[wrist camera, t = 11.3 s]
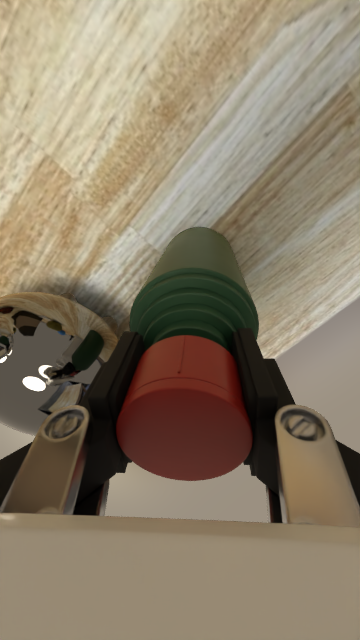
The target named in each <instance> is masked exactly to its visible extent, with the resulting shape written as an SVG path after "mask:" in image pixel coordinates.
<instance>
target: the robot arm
mask: <svg viewBox="0 0 360 640" xmlns="http://www.w3.org/2000/svg"><path fill="white" fill-rule="evenodd" d="M144 352H145V347H144V341H143V336H142V335H139V334H138V332H137V331H136V332H124V333H123V334H122V336H121V338H120V340H119V341H118V343H117V345H116V347H115V349H114V350H113V352H112V354H111V356H110V358H109V359H108V361H107V362H104V363H103V364H102V365H101V367H100V369H99V370H98V372H97V374H96V375H95V377H94V379H93V381H92V382H91V384H90V386H89V388H88V389H87V391H86V393H85V395H84V396H83V398H82V400H81V402H80V403H79V405H71V406H67V407H63V408H61V409H59V410H57V411H55V412H54V413H52V414H51V415H49V416H48V417H47V418H46V419H45V420H44V422H43V423H42V425H41V426H40V428H39V430H38V432H37V434H36V437H35V438H34V440H33V442H31V443H30V444H28V445H26V446H24V447H22V448H21V449H19V450H17V451H15V452H13V453H12V454H10V455H8V456H6V457H5V458H3V459H1V460H0V640H360V454H359V453H358V452H356V451H354V450H352V449H351V448H349V447H347V446H345V445H344V444H342V443H340V442H338V441H337V440H335V438H334V435H333V432H332V429H331V427H330V425H329V423H328V421H327V420H326V419H325V418H324V417H323V416H322V415H321V414H319V413H318V412H316V411H315V410H313V409H311V408H308V407H306V406H301V405H296V404H295V402H294V400H293V398H292V395H291V393H290V391H289V389H288V387H287V385H286V382H285V380H284V378H283V376H282V374H281V372H280V369H279V367H278V365H277V363H276V361H275V359H263V356H262V354H261V351H260V349H259V346H258V344H257V341H256V339H255V336H254V334H253V331H252V329H251V328H237V332H232V356H233V357H234V359H235V361H236V362H237V366H238V371H239V375H240V380H241V385H242V390H243V394H244V399H245V404H246V409H247V414H248V417H249V419H250V423H251V427H252V432H253V443H252V448H251V450H250V453H249V454H248V456H247V458H246V459H245V460H244V461H243V463H244V465H250V470H251V475H252V476H257V478H258V479H259V480H260V481H262V482H263V483H264V484H265V485H266V496H267V511H268V523H261V522H260V523H259V522H238V521H216V520H192V519H167V518H141V517H113V516H104V515H105V509H106V502H107V495H108V489H109V479H110V478H111V477H112V476H114V475H115V474H116V473H125V470H126V467H127V463H131V462H132V460H131V459H130V458H129V457H128V456H127V455H126V454H125V453H124V452H123V450H122V449H121V447H120V445H119V443H118V440H117V436H116V422H117V419H118V416H119V413H120V411H121V408H122V405H123V402H124V400H125V397H126V394H127V392H128V389H129V386H130V384H131V381H132V378H133V376H134V373H135V370H136V367H137V365H138V362H139V360H140V358H141V356H142V355H143V354H144Z"/></svg>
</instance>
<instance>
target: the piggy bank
mask: <svg viewBox="0 0 360 640" xmlns="http://www.w3.org/2000/svg"><path fill="white" fill-rule="evenodd" d="M116 329H117V322H116V320H115V319H114V318H112V317H110V316H106V317H102V318H101V317H100V316H98V315H97V314H96V313H94V312H93V311H91V310H90V309H88V308H87V307H85V306H83V305H81V304H79V303H77V300H76V298H75V297H74V296H73V295H72V294H70V293H64V294H61V295H60V296H59V295H55V294H50V293H43V292H21V293H15V294H10V295H6V296H3V297H0V423H2V424H4V425H6V426H8V427H10V428H12V429H15V430H18V431H20V432H23V433H26V434H30V435H35V436H36V434H37V432H38V430H39V428H40V426H41V425H42V423H43V422H44V420H45V419H46V418H47V417H48V416H49V415H51V414H52V413H54V412H55V411H57V410H59V409H61V408H63V407H67V406H71V405H79V403H80V402H81V400H82V398H83V396H84V395H85V393H86V391H87V389H88V388H89V386H90V384H91V382H92V381H93V379H94V377H95V375H96V374H97V372H98V370H99V369H100V367H101V365H102V364H103V363H104V362H107V361H108V359H109V358H110V356H111V354H112V352H113V350H114V349H115V347H116V345H117V343H118V341H119V340H118V338H117V336H116V335H115V331H116Z"/></svg>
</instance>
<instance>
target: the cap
mask: <svg viewBox="0 0 360 640" xmlns="http://www.w3.org/2000/svg"><path fill="white" fill-rule="evenodd" d="M116 436H117V440H118V443H119V445H120V447H121V449H122V450H123V452H124V453H125V454H126V455H127V456H128V457H129V458H130V459H131V460H132V461H133V462H134V463H135V464H137V465H138V466H140V467H141V468H143V469H145V470H147V471H149V472H151V473H153V474H156V475H159V476H162V477H165V478H170V479H175V480H185V481H197V480H206V479H212V478H215V477H218V476H222V475H224V474H226V473H228V472H230V471H232V470H234V469H235V468H236V467H238V466H239V465H240V464H241V463H242V462H243V461H244V460H245V459H246V458H247V456H248V454H249V453H250V450H251V448H252V443H253V432H252V427H251V423H250V419H249V417H248V414H247V409H246V404H245V399H244V394H243V390H242V385H241V380H240V375H239V371H238V366H237V362H236V361H235V359H234V357H233V356H232V355H231V354H230V353H229V352H228V351H227V350H226V349H225V348H224V347H222V346H221V345H219V344H218V343H216V342H214V341H212V340H209V339H206V338H203V337H199V336H192V335H180V336H173V337H169V338H166V339H163V340H161V341H159V342H157V343H155V344H154V345H152V346H151V347H149V348H148V349H147V350H146V351H145V352H144V354H143V355H142V356H141V358H140V360H139V362H138V365H137V367H136V370H135V373H134V376H133V378H132V381H131V384H130V386H129V389H128V392H127V394H126V397H125V400H124V402H123V405H122V408H121V411H120V413H119V416H118V419H117V422H116Z"/></svg>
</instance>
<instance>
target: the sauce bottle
mask: <svg viewBox="0 0 360 640" xmlns="http://www.w3.org/2000/svg"><path fill="white" fill-rule="evenodd" d="M129 323H130V332H136V331H137V332H138V334H139V335H142V336H143V341H144V347H145V351H146V350H147V349H148V348H149V347H151V346H152V345H154V344H155V343H157V342H159V341H161V340H163V339H166V338H169V337H173V336H180V335H192V336H199V337H203V338H206V339H209V340H212V341H214V342H216V343H218V344H219V345H221V346H222V347H224V348H225V349H226V350H227V351H228V352H229V353H230V354H231V355H232V332H237V328H251V329H252V331H253V334H254V336H255V339H257V336H258V330H259V321H258V314H257V311H256V307H255V305H254V302H253V300H252V297H251V295H250V293H249V290H248V288H247V285H246V283H245V280H244V278H243V275H242V273H241V270H240V268H239V266H238V263H237V261H236V258H235V256H234V253H233V251H232V249H231V246H230V244H229V243H228V241H227V240H226V239H225V238H224V237H223V236H222V235H221V234H219V233H218V232H216V231H214V230H212V229H209V228H203V227H196V228H190V229H187V230H185V231H183V232H181V233H179V234H178V235H177V236H175V237H174V238H173V239H172V241H171V242H170V243H169V245H168V247H167V248H166V250H165V251H164V253H163V255H162V256H161V258H160V260H159V261H158V263H157V264H156V266H155V268H154V269H153V271H152V273H151V274H150V276H149V277H148V279H147V281H146V282H145V284H144V285H143V287H142V289H141V290H140V292H139V294H138V295H137V297H136V299H135V301H134V303H133V306H132V308H131V313H130V322H129Z"/></svg>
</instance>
